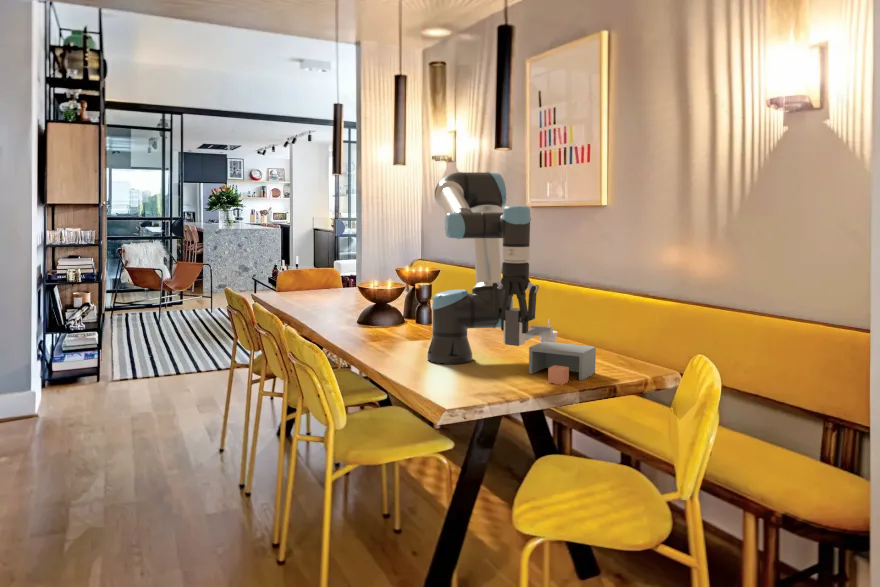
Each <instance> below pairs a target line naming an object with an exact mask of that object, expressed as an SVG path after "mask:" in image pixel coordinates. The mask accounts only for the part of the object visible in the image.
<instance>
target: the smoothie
mask: <svg viewBox="0 0 880 587" xmlns="http://www.w3.org/2000/svg"><path fill="white" fill-rule="evenodd" d="M547 319H548V320H547V327H551V320H550V318H547ZM558 333H559V332H558V331H556V330H553V337H544V336H539V343H541V342H554V343H557V336H559V334H558Z"/></svg>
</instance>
